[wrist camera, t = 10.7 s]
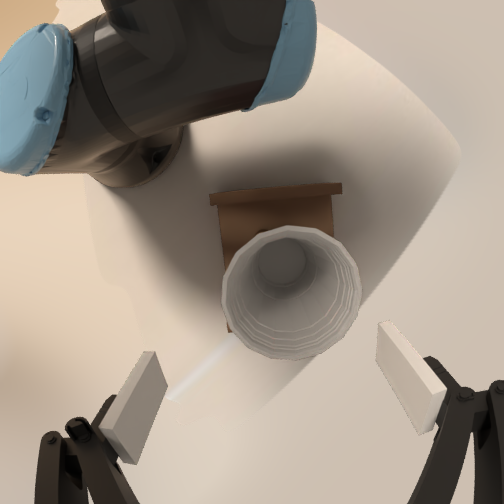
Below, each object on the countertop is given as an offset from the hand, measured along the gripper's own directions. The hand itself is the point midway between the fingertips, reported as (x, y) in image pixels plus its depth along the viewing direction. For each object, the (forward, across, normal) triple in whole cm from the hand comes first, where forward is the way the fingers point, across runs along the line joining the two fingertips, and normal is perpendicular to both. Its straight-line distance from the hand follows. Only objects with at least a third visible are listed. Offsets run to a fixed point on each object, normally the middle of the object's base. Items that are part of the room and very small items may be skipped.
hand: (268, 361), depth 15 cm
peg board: (+22, +2, +1) cm, 23 cm away
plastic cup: (+18, +2, +1) cm, 18 cm away
